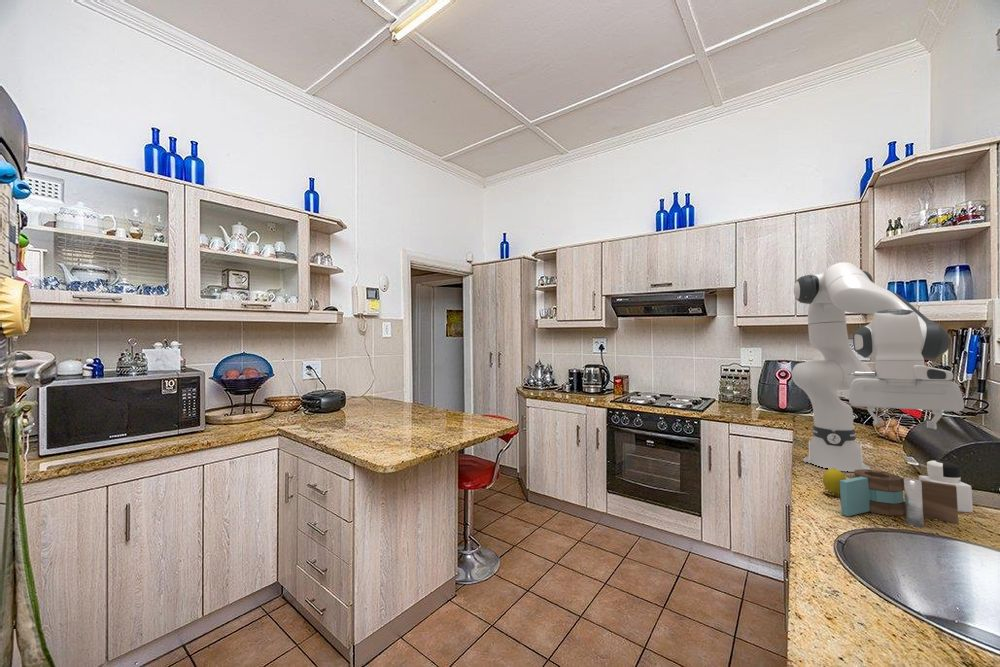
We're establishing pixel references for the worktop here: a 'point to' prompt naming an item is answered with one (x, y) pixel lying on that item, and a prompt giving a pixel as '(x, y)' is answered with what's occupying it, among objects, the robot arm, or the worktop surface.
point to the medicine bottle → (950, 482)
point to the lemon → (833, 480)
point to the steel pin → (913, 502)
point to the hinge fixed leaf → (934, 496)
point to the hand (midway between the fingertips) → (904, 426)
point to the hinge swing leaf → (863, 496)
